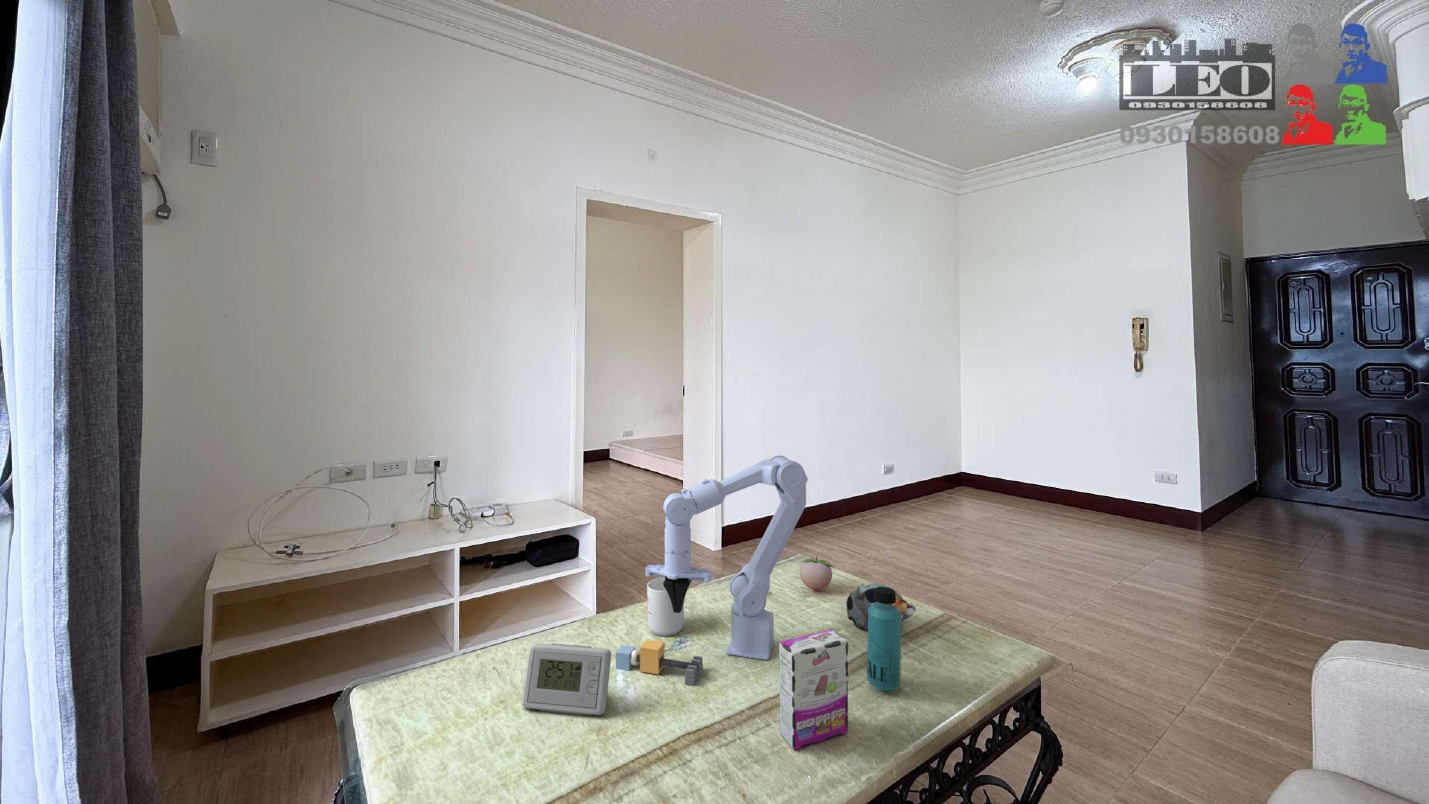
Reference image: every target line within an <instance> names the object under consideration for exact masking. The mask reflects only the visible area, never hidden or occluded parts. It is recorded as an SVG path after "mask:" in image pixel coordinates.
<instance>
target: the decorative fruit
mask: <svg viewBox="0 0 1429 804" xmlns="http://www.w3.org/2000/svg"><path fill="white" fill-rule="evenodd" d="M800 563H802V564H801V566H800V568H799V569H800V570H799V577H800V579H801V581H802V583H803V584H804V585H805V587H806V588H809V589H811V590H813V591H814V592H817V591H820V590H823V589H825V588H827V587H828V586H829V585H830V584H831V582H832V579H833V570H832V568H834V566H833V564H831V563H830V562H829V561H827V560H823V559H818V556H815V559H814V558H809V557H808V558H805V559H802V560H801V561H800Z"/></svg>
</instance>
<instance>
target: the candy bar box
mask: <svg viewBox="0 0 1429 804" xmlns="http://www.w3.org/2000/svg"><path fill="white" fill-rule="evenodd" d="M848 641H849V640H848V639H847V638H845V637H844V636H842V635H840V634H839V632H837V631H836V630H834V629H831V628H830V629H826V630H823V631H819V632H814V633H811V634H807V635H801V636H797V637H793V638H790V639H785V640H781V641H779V642H778V644H779V645H778V647H779V649H778V650H779V652H778V654H779V655H778V656H779V657H778V658H779V659H778V661H779V662H778V663H779V667H778V668H779V669H778V670H779V673H778V674H779V676H778V677H779V735H781V737H782V738H783V739H784V740H785V741H786V743H787V744H788V745H789V746H790V748H791V749H792V750H793V751H798V750H801V749H803V748H806V747H810V746H813V745H816V744H818V743H821V742H825V741H827V740H830V739H833V738H836V737H838V736H841V735H845V734H848V733H849V690H848V689H849V683H848V682H849V672H848V671H849V670H848V669H849V666H848V665H849V661H848V660H849V656H848V655H849V650H848V649H849V648H848V647H849V642H848Z"/></svg>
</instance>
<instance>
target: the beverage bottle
mask: <svg viewBox="0 0 1429 804" xmlns="http://www.w3.org/2000/svg"><path fill="white" fill-rule="evenodd" d="M892 588H893V587H892ZM892 588H889V587H877V588H875V591H874V600H875V601H876V602H878V603H875V604H873V605H872V606H871V607H870V608H869V609H868V622H867V623H868V627H867V631H866V635H867V636H866V637H867V646H866V647H867V658H866V663H867V670H866V674H867V675H866V677H867V681H868V683H869V684H870V686H872V687H874V688H876V689H878V690H882V691H894V690H897V689H898V688H899V687H900V684H901V675H902V674H901V673H902V668H901V666H902V663H901V662H902V659H901V658H902V650H901V640H902V639H901V633H902V631H901V630H902V624H901V616H902V615H901V612H900V611H899V610H898V609H897V608H896V607H895V606H894V605H892V604H894V603H895V602H896V594H895V590H896V589H895V590H893V589H892Z"/></svg>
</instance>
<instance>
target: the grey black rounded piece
mask: <svg viewBox="0 0 1429 804" xmlns="http://www.w3.org/2000/svg"><path fill="white" fill-rule="evenodd" d="M877 587H889V588H892V589H893V590H895V594H896V602H895V603H894V604H892V605H894V606H895V607H896V608H897V609H898V610H899V611H900V612H901V615H902V616H901V625H902V624H904V621H906V620H907V619H909V618H910V617H912V616H913V615H914V613H916V605H913V603H909V602H907V601H906V600H905V599H904V597H903V596H902V594H901V593H900V591H899V592H898V590H896V589H894V588H893V587H892V586H890V585H886V584H883V583H880V582H879V583H878V582H876V583H874V582H873V583H868V584H867V585H864V583H860V584H859V585H858V586H857V588H856V589H855V590H853V591H852V592H850V593H849V595H848V597H847V599H846V603H845V606H846V613H847V618H848V619H849V620H850V621H852V622H853V624H854V626H855V628H856V629H858V628H859V630H861V629H863V630H862V631H865V630H866V631H865V632H868V631H867V627H868V623H867V622H868V609H869V608H870V607H871V606H872V605H873V604H875V603H878V602H876V601H875V600H874V591H875V588H877Z"/></svg>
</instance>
